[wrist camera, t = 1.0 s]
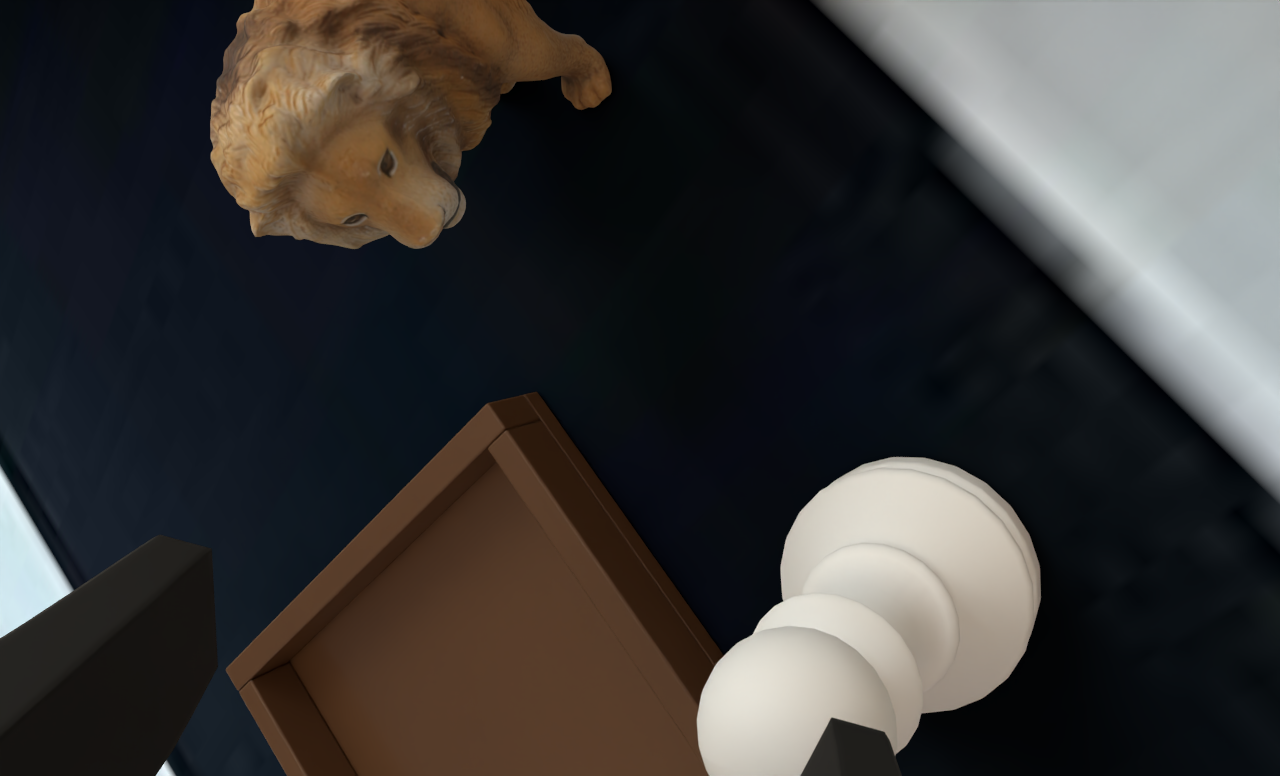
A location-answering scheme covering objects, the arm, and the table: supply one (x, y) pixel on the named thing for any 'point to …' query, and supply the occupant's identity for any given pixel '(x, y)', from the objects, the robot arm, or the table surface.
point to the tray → (487, 628)
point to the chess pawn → (876, 617)
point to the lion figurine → (375, 109)
